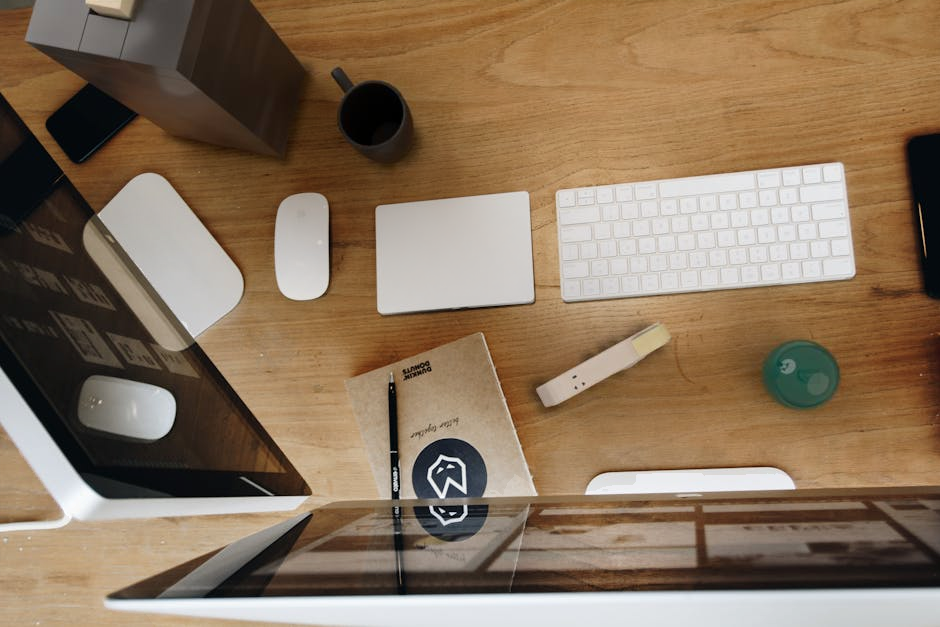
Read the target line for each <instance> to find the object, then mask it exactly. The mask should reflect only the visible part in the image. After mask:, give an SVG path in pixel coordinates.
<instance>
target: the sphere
mask: <svg viewBox="0 0 940 627" xmlns="http://www.w3.org/2000/svg"><path fill="white" fill-rule="evenodd" d="M760 382H761V385H762V387H763V389H764V391H765V393H766V395H767V396H768V397H769V398H770V399H771V400H772V402H773V403H775V404H776V405H778V406H780V407H781V408H783V409H786V410H789V411H793V412H797V413H799V412H804V413H805V412H813V411H816V410H818V409H821V408H823V407H825V406H826V405H827V404H828V403H830V402H831V401H832V400H833V399H834V398H835V396H836V395H837V393H838V392H839V390H840V385H841V382H842V373H841V367H840V365H839V363H838V360H837V358H836V356H835V355H834V354H833V353H832V352H831V351H830V349H828V348H827V347H826V346H824V345H822V344H821V343H819V342H817V341H814V340H811V339H807V338H792V339H788V340H786V341H785V340H784V341H782V342H780V343H778V344H776V345H775V346H774V347H773V348H771V349H770V350H769V351H768V352H767V353H766V355H765V357H764V359H763V360H762V363H761V367H760Z"/></svg>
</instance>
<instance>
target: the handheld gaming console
mask: <svg viewBox="0 0 940 627" xmlns="http://www.w3.org/2000/svg"><path fill="white" fill-rule="evenodd" d="M671 339H672V335H671V333H670V332H669V330H668V328H667V327H666V324H665V323H661V322H655V323H652V324H651V325H649V326H648V327H646V328H644V329H642V330H641V331H639V332H637V333H635V334H633V335H631V336H629V337H628V338H626V339H624V340H622V341H620V342H618V343H616V344H613V345H612V346H610V347H608V348H606V349H605V350H603V351H601V352H599V353H598V354H596V355H594V356H592V357H590V358H589V359H587V360H585V361H583V362H581V363H579V364H578V365H576V366H574V367H571V368H570V369H568V370H567V371H565V372H563V373H560V374H559V375H558V376H556V377H554V378H552V379H550V380H548V381H547V382H546V383H543V384H542V385H540V386H538V387H536V389H535V391H536V393H537V395H538V396H539V398H540V400H541V402H542V404H543V405H544V407H545V408H549V407H553V406H557V405H559V404H561V403H563V402H565V401H567V400H568V399H572V397H574V396H576V395H578V394H579V393H582V392H583V391H585V390H587V389H589V388H591V387H592V386H595V385H596V384H597V383H600V382H602V381H603V380H605V379H607V378H608V377H611V376H613V375H614V374H617V373H619V372H621V371H625V370H628V369H630V368H631V367H633V366H634V365H636V364H638V362H640V361H641V360H643V359H644V358H645V357H647V356H648V355H650V353H652V352H654V351H655V350H657V349H658V348H661V347H663V346H664V345H666V344H668V343H669V342H671Z"/></svg>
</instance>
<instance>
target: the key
mask: <svg viewBox="0 0 940 627" xmlns="http://www.w3.org/2000/svg"><path fill="white" fill-rule="evenodd" d="M85 3H86V4H87V5H88V6H89V7H91V8H92V9H93V10H94V11H96V12H97V13H98V14H99V15H103V16H108V17H114V18H119V19H125V20H130V21H131V18H132V14H133V11H134V7H135V4H136V0H86V2H85Z"/></svg>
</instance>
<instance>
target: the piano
mask: <svg viewBox="0 0 940 627" xmlns="http://www.w3.org/2000/svg"><path fill="white" fill-rule="evenodd" d="M85 2H86V0H35V3H34V6H33V10H32V13H31V16H30V20H29V24H28V26H27V30H26V34H25V38H24V42H25V43H26V44H28V45H29V46H31V47H32V48H34V49H35V50H38V51H39V52H41V53H42V54H44V55H45V56H47V57H49V58H50V59H52V60H53V61H55V62H56V63H58V65H60V66H62V67H64V68H66V70H69V71H70V72H72V73H73V74H75V75H76V76H78V77H80V78H82V79H83V80H84V81H86V82H88V84H91V85H92V86H94V87H96V88H97V89H99V90H100V91H101V92H102V93H105V94H106V95H108V96H109V97H110V98H112V99H114V100H116V101H117V102H119V103H120V104H121V105H124V106H125V107H127V108H128V109H129V110H131V111H133V112H135V113H136V114H138V115H139V116H141V117H142V118H144V119H146V120H147V121H149V122H150V123H152V125H155V126H156V127H158V128H159V129H161V130H163V131H164V132H166V133H167V134H169V135H170V136H174V137H179V138H183V139H188V140H192V141H198V142H203V143H208V144H212V145H216V146H217V145H218V146H223V147H227V148H232V149H237V150H243V151H246V152H251V153H257V154H262V155H266V156H272V157H276V158H281V159H283V158H284V156H285V153H286V149H287V145H288V141H289V139H290V138H289V137H290V133H291V129H292V127H293V123H294V119H295V113H296V111H297V107H298V104H299V99H300V95H301V91H302V87H303V83H304V79H305V76H306V72H307V69H306V68H305V67H304V66H303V64H302V63H301V62H300V61H299V59H298V58H297V57H296V56H295V54H294V53H293V52H292V50H291V49H290V48H289V47H288V46H287V44H286V43H285V41H283V40H282V38H281V37H280V36H279V34H278V33H277V32H276V31H275V29H273V27H272V26H271V25H270V23H269V22H268V21H267V20H266V18H265V17H264V16H263V14H262V13H261V12H260V11H259V9H258V7H256V6H255V5H254V3H253V2H252V1H251V0H136V4H135V7H134V11H133V14H132V18H131V21H130V20H125V19H119V18H114V17H108V16H103V15H99V14H98V13H97V12H96V11H94V10H93V9H92V8H91V7H89V6H88V5H87V4H86V3H85Z"/></svg>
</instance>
